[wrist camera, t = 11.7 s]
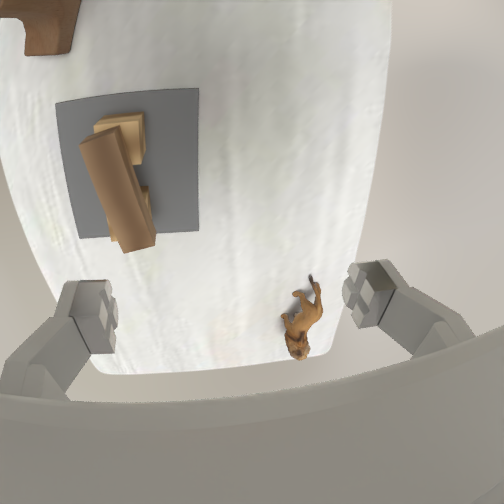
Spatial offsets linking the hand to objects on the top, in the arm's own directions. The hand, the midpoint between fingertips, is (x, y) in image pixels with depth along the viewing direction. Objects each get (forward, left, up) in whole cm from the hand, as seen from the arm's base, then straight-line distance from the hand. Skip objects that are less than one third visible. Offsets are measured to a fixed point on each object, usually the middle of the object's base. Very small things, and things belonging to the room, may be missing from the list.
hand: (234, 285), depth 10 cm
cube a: (+3, -9, -31) cm, 32 cm away
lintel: (+8, -9, -26) cm, 28 cm away
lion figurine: (+36, +18, -31) cm, 51 cm away
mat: (+8, -9, -31) cm, 33 cm away
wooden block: (-13, -17, -31) cm, 38 cm away
